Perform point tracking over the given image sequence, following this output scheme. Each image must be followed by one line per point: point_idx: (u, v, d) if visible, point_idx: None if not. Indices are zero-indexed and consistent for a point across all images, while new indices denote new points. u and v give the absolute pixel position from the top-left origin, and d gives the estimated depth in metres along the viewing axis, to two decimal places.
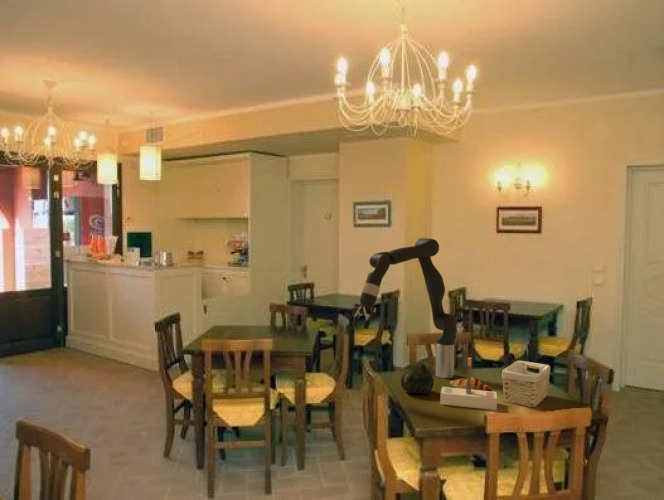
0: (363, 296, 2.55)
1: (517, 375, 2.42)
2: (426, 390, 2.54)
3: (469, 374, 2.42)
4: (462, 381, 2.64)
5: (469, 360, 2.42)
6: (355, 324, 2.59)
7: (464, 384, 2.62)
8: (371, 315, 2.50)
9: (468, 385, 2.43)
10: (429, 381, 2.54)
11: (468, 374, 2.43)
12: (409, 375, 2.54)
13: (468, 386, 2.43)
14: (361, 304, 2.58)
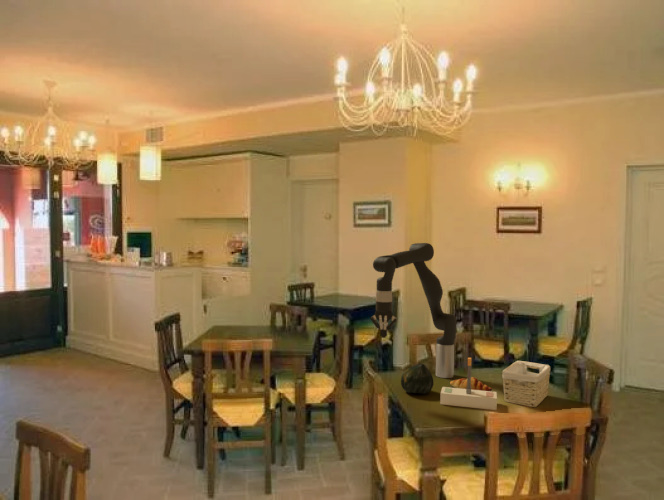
0: (383, 306, 2.48)
1: (518, 375, 2.42)
2: (426, 390, 2.54)
3: (469, 374, 2.42)
4: (462, 381, 2.64)
5: (469, 360, 2.42)
6: None
7: (464, 384, 2.62)
8: (391, 326, 2.50)
9: (468, 385, 2.43)
10: (429, 381, 2.54)
11: (468, 374, 2.43)
12: (409, 375, 2.54)
13: (468, 386, 2.43)
14: (376, 312, 2.51)
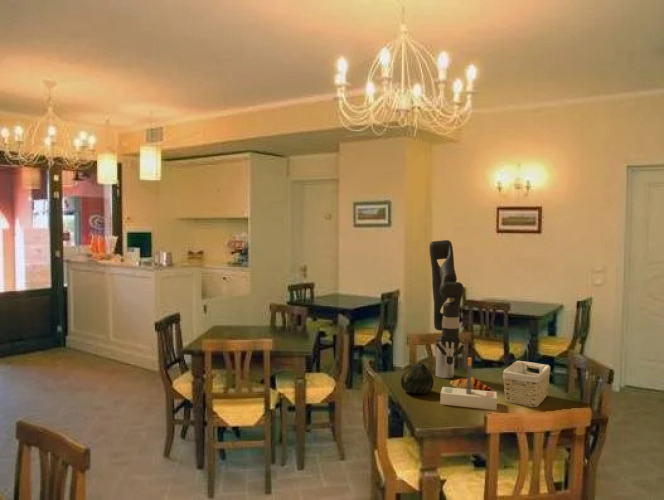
0: (451, 332, 2.41)
1: (518, 375, 2.42)
2: (426, 390, 2.54)
3: (469, 374, 2.42)
4: (461, 381, 2.64)
5: (469, 360, 2.42)
6: None
7: (463, 384, 2.62)
8: (458, 353, 2.43)
9: (468, 385, 2.43)
10: (429, 381, 2.54)
11: (468, 374, 2.43)
12: (409, 375, 2.54)
13: (468, 386, 2.43)
14: (443, 338, 2.45)
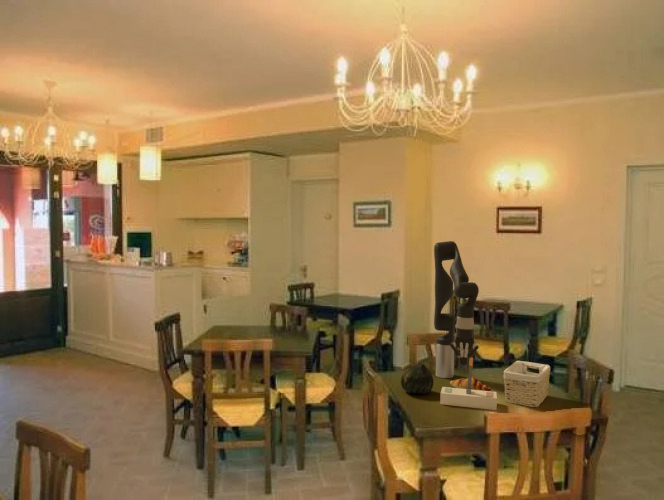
0: (465, 333, 2.39)
1: (519, 375, 2.42)
2: (426, 390, 2.54)
3: (470, 374, 2.42)
4: (461, 381, 2.64)
5: (471, 360, 2.42)
6: None
7: (463, 384, 2.62)
8: None
9: (468, 385, 2.43)
10: (429, 381, 2.54)
11: (469, 374, 2.42)
12: (409, 375, 2.54)
13: (468, 386, 2.43)
14: (457, 339, 2.43)
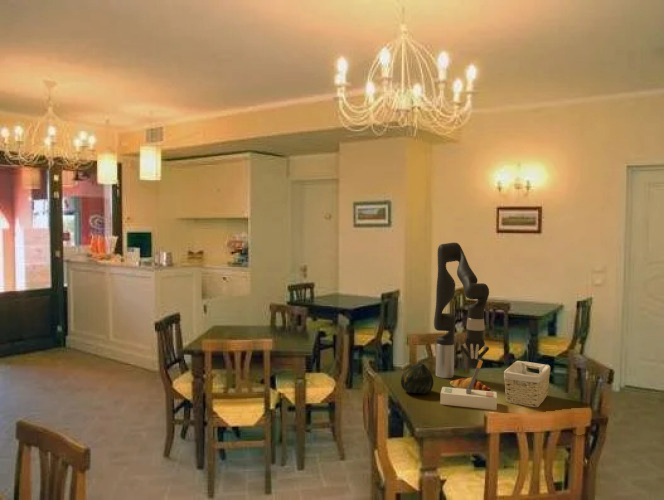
0: (476, 334, 2.38)
1: (519, 376, 2.41)
2: (426, 390, 2.54)
3: (475, 376, 2.42)
4: (461, 381, 2.64)
5: (480, 363, 2.41)
6: None
7: (463, 384, 2.62)
8: None
9: (470, 385, 2.43)
10: (429, 381, 2.54)
11: (474, 375, 2.42)
12: (409, 375, 2.54)
13: (470, 386, 2.43)
14: (467, 340, 2.42)
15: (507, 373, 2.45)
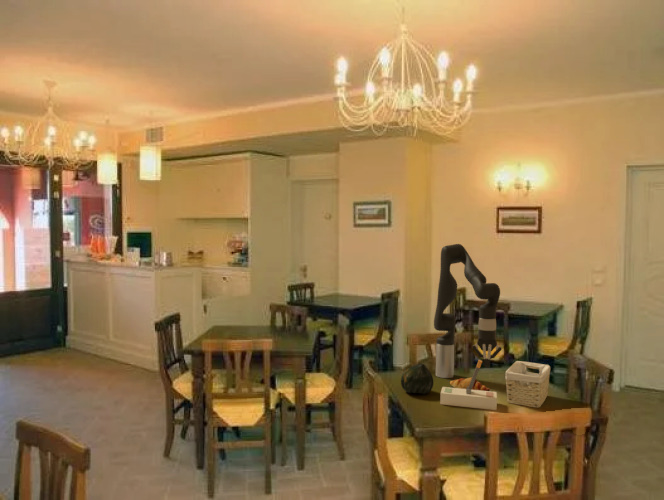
0: (488, 334, 2.37)
1: (521, 376, 2.41)
2: (426, 390, 2.54)
3: (475, 375, 2.42)
4: (461, 381, 2.64)
5: (479, 362, 2.41)
6: None
7: (462, 384, 2.62)
8: None
9: (470, 385, 2.43)
10: (429, 381, 2.54)
11: (474, 375, 2.42)
12: (409, 375, 2.54)
13: (470, 386, 2.43)
14: (479, 340, 2.41)
15: (509, 373, 2.44)
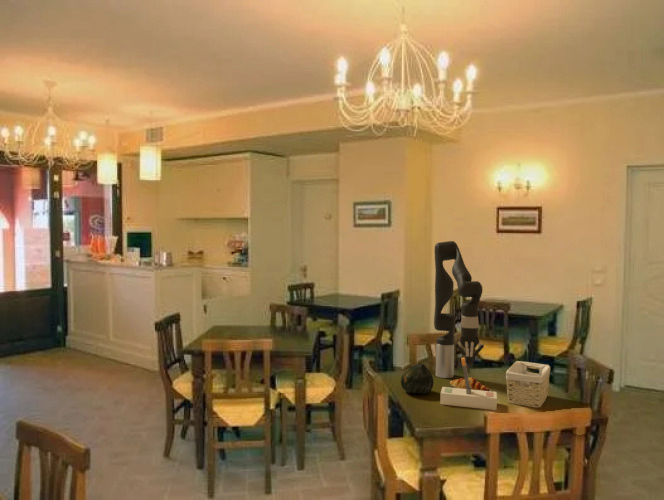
0: (470, 332, 2.39)
1: (522, 376, 2.41)
2: (426, 390, 2.54)
3: (465, 374, 2.43)
4: (460, 381, 2.64)
5: (463, 360, 2.43)
6: None
7: (462, 384, 2.62)
8: None
9: (467, 385, 2.43)
10: (429, 381, 2.54)
11: (464, 374, 2.43)
12: (409, 375, 2.54)
13: (467, 386, 2.43)
14: (462, 338, 2.43)
15: (509, 374, 2.44)
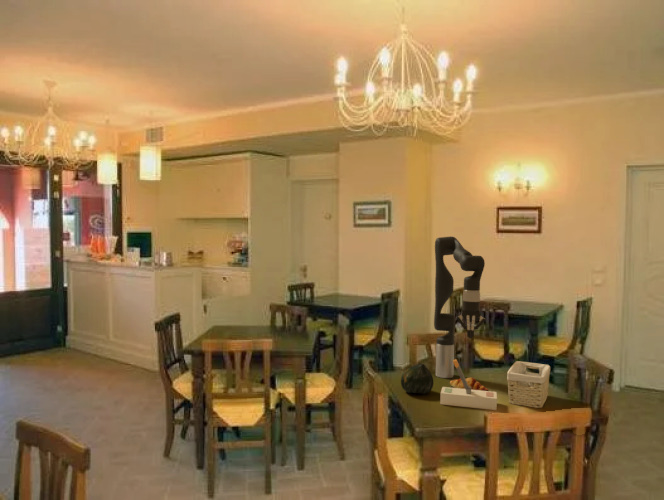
0: (472, 306, 2.41)
1: (523, 376, 2.40)
2: (426, 390, 2.54)
3: (461, 375, 2.43)
4: (460, 381, 2.64)
5: (455, 362, 2.44)
6: (470, 336, 2.46)
7: (461, 384, 2.62)
8: (479, 326, 2.43)
9: (465, 386, 2.43)
10: (429, 381, 2.54)
11: (460, 375, 2.44)
12: (409, 375, 2.54)
13: (465, 386, 2.43)
14: (464, 312, 2.45)
15: (510, 374, 2.43)
